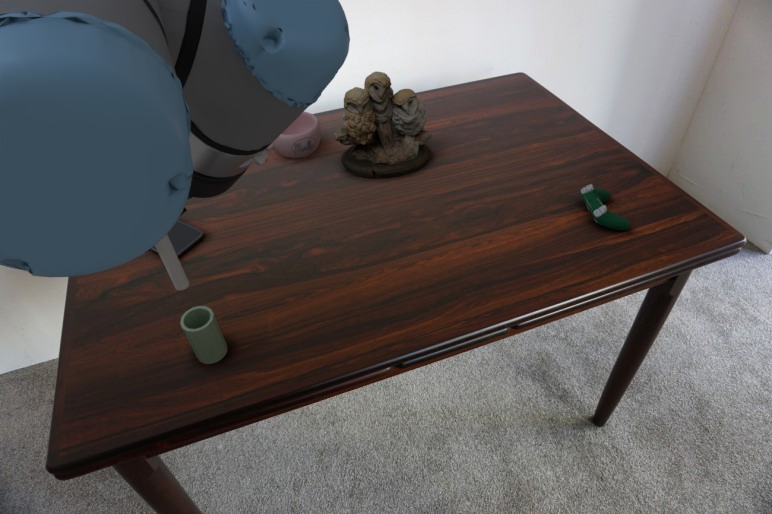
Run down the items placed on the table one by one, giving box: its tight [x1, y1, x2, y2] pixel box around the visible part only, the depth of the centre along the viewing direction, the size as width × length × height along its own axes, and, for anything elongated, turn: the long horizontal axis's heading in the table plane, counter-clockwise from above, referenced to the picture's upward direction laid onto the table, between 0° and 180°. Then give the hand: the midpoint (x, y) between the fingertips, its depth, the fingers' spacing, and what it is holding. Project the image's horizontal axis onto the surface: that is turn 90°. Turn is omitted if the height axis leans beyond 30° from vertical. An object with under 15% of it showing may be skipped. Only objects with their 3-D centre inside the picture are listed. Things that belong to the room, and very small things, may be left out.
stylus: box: [155, 234, 190, 291], centre depth 56 cm, size 2×2×14 cm
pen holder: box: [179, 305, 228, 365], centre depth 67 cm, size 4×4×7 cm
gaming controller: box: [579, 183, 631, 231], centre depth 85 cm, size 9×4×6 cm
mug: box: [264, 111, 322, 159], centre depth 101 cm, size 12×10×6 cm
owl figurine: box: [332, 71, 433, 179], centre depth 94 cm, size 18×12×17 cm, turn 103°
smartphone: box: [148, 219, 205, 259], centre depth 86 cm, size 7×1×15 cm
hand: (137, 233), depth 58 cm, fingers closed on stylus, 1 cm apart
